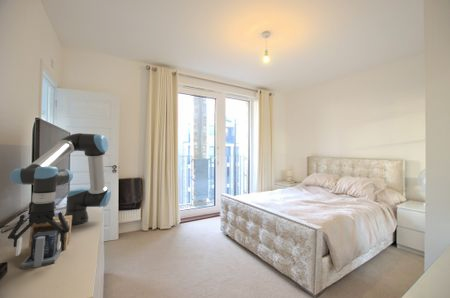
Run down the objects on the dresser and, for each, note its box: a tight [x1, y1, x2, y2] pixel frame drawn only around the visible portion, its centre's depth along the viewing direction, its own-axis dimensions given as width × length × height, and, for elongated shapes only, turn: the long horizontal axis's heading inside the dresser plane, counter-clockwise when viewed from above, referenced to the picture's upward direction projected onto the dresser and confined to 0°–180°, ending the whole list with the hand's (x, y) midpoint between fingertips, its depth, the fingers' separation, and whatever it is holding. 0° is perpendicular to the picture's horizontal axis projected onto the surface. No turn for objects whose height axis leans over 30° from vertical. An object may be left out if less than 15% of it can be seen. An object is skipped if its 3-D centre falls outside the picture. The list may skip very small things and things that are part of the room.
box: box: [31, 230, 58, 260], centre depth 92 cm, size 8×6×11 cm
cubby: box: [27, 214, 73, 256], centre depth 102 cm, size 11×14×14 cm
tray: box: [20, 236, 63, 270], centre depth 91 cm, size 14×11×12 cm
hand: (39, 251), depth 85 cm, fingers open, 12 cm apart
